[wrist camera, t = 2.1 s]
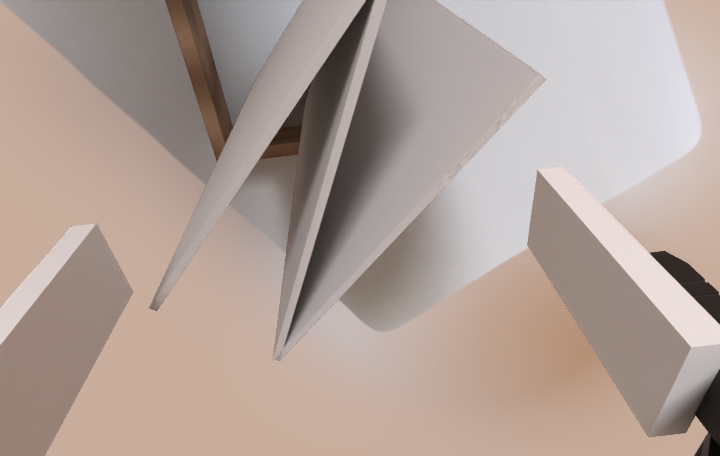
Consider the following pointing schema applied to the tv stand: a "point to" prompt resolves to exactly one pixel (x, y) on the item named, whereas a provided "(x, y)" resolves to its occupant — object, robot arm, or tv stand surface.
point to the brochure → (360, 137)
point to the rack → (216, 83)
